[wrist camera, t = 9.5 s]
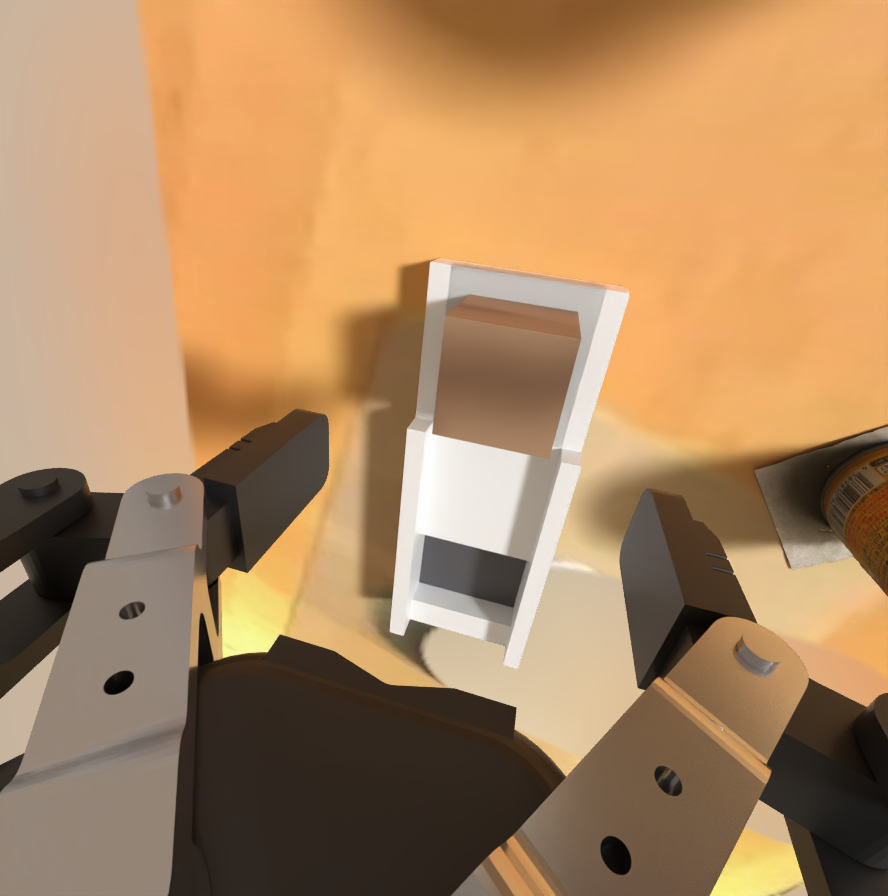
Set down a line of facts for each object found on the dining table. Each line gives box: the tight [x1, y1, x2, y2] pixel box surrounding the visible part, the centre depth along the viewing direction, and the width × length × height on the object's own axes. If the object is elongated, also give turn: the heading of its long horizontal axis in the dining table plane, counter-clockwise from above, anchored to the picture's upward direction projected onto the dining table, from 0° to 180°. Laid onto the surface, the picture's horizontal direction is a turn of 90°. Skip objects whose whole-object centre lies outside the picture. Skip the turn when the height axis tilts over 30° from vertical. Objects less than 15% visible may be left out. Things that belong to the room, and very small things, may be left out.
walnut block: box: [432, 294, 581, 459], centre depth 20 cm, size 5×5×5 cm
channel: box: [390, 258, 630, 669], centre depth 26 cm, size 24×9×4 cm, turn 173°
